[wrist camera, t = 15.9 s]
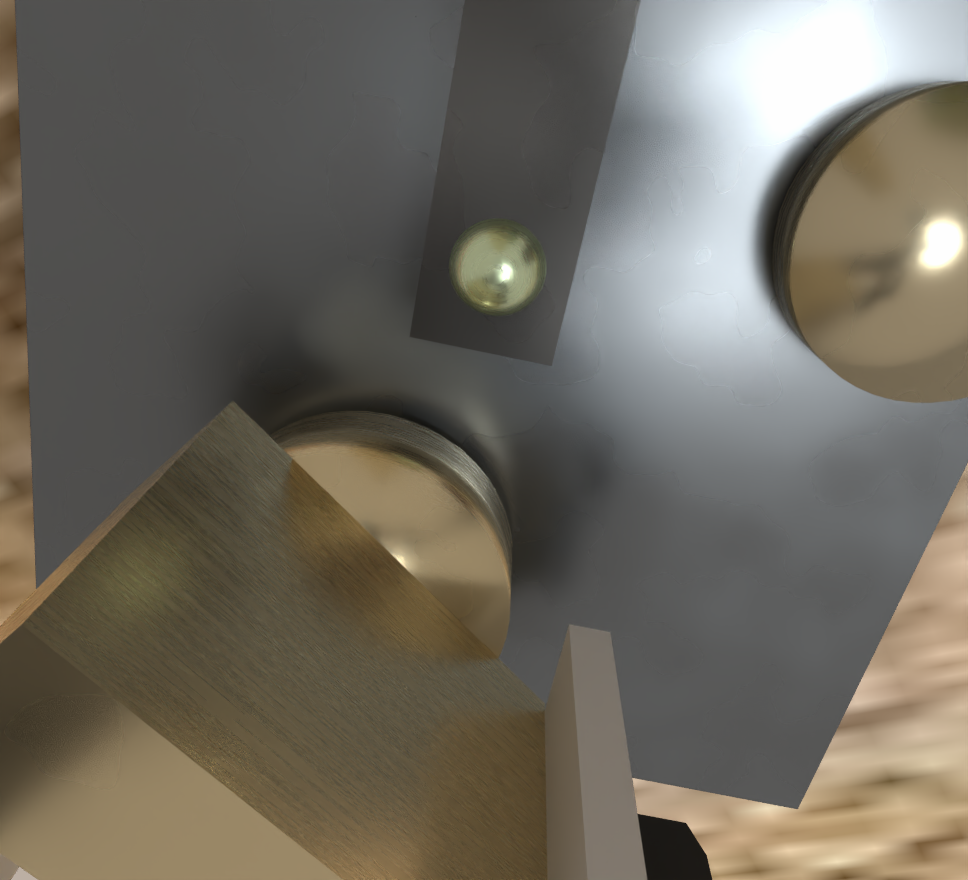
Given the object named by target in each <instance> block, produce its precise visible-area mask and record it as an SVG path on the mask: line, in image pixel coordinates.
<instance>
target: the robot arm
mask: <svg viewBox="0 0 968 880" xmlns="http://www.w3.org/2000/svg"><path fill="white" fill-rule="evenodd" d="M545 766H546V823H547V880H712V877H711V872H710V868H709V864H708V859H707V855H706V854H705V852H704V851H703V849H702V847H701V846H700V844H699V843H698V841H697V840H696V838H695V836H694V835H693V833H692V832H691V830H690V829H689V827H688V825H687V824H686V823H683V822H678V821H672V820H667V819H662V818H656V817H651V816H646V815H640V814H637V808H636V801H635V794H634V787H633V781H632V774H631V767H630V761H629V754H628V747H627V740H626V734H625V727H624V720H623V714H622V707H621V700H620V694H619V687H618V680H617V673H616V667H615V660H614V653H613V647H612V640H611V633H610V632H607V631H602V630H597V629H592V628H586V627H581V626H576V625H571V624H569V626H568V630H567V633H566V637H565V640H564V644H563V648H562V651H561V655H560V658H559V662H558V665H557V669H556V672H555V676H554V679H553V683H552V686H551V690H550V694H549V697H548V701H547V704H546V708H545ZM18 868H19V866H18V865H16V864H15V863H13V862H12V861H11V860H9V859H8V858H6V857H5V856H3V855H2V854H0V880H11V879H12V877H13V876H14V874H15V873H16V871H17V869H18Z"/></svg>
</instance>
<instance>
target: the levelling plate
mask: <svg viewBox="0 0 968 880" xmlns="http://www.w3.org/2000/svg"><path fill="white" fill-rule="evenodd" d="M15 11H16V38H17V66H18V94H19V122H20V149H21V177H22V205H23V233H24V261H25V288H26V316H27V344H28V372H29V399H30V427H31V455H32V483H33V510H34V538H35V566H36V589H37V588H38V587H39V586H40V585H41V584H42V583H43V582H44V581H45V580H46V579H47V578H48V577H49V576H50V575H51V574H52V573H53V572H54V571H55V570H56V569H57V568H58V567H59V566H60V565H61V564H62V563H63V562H64V561H65V560H66V558H67V557H68V556H69V555H70V554H71V553H72V552H73V551H74V550H75V549H76V548H77V547H78V546H79V545H80V544H81V543H82V542H83V541H84V540H85V539H86V538H87V537H88V536H89V535H90V534H91V533H92V532H93V531H94V530H95V529H96V528H97V527H98V526H99V525H100V524H101V523H102V522H103V521H104V520H105V519H106V518H107V517H108V516H109V515H110V514H111V513H112V512H113V511H114V510H115V508H116V507H117V506H118V505H119V504H120V503H121V502H122V501H123V500H124V499H125V498H126V497H127V496H128V495H130V494H131V493H132V492H133V491H134V490H135V489H136V488H137V487H138V486H139V485H141V484H142V483H143V482H144V481H145V480H146V479H147V478H148V477H149V476H150V475H152V474H153V473H154V472H155V471H156V470H157V469H158V468H159V467H160V466H161V465H163V464H164V463H165V462H166V461H167V460H168V459H169V458H170V457H171V456H172V455H174V454H175V453H176V452H177V451H178V450H179V449H180V448H181V447H182V446H183V445H185V444H186V443H187V442H188V441H189V440H190V439H191V438H192V437H193V436H194V435H196V434H197V433H198V432H199V431H200V430H201V429H202V428H203V427H204V426H205V425H207V424H208V423H209V422H210V421H211V420H212V419H213V418H214V417H215V416H216V415H218V414H219V413H220V412H221V411H222V410H223V409H224V408H225V407H226V406H227V405H229V404H230V403H231V402H232V401H234V402H235V403H236V404H237V405H238V406H239V407H240V408H241V409H242V410H243V411H244V412H245V413H246V414H247V415H248V416H249V417H250V418H251V419H252V420H253V421H254V422H256V423H257V424H258V425H259V426H260V427H261V428H262V429H263V430H264V431H265V432H266V433H267V434H268V435H269V436H270V435H271V434H272V433H274V432H276V431H277V430H279V429H281V428H283V427H285V426H287V425H288V424H291V423H293V422H296V421H299V420H301V419H304V418H307V417H311V416H315V415H319V414H324V413H330V412H340V411H369V412H376V413H382V414H389V415H392V416H396V417H400V418H403V419H407V420H410V421H412V422H415V423H417V424H420V425H422V426H425V427H427V428H429V429H431V430H432V431H434V432H436V433H438V434H440V435H442V436H443V437H445V438H447V439H448V440H449V441H451V442H452V443H453V444H455V445H456V446H458V447H459V448H460V449H462V450H463V451H464V452H465V453H466V454H467V455H468V456H469V457H470V458H471V459H472V460H473V461H475V462H476V464H477V465H478V466H479V467H480V468H481V470H482V471H483V472H484V473H485V474H486V476H487V477H488V478H489V480H490V481H491V483H492V485H493V486H494V488H495V489H496V491H497V493H498V494H499V497H500V499H501V501H502V503H503V506H504V508H505V510H506V514H507V517H508V521H509V524H510V529H511V537H512V575H511V599H510V621H509V626H508V632H507V637H506V640H505V643H504V646H503V649H502V652H501V654H500V656H499V659H500V660H501V661H502V662H503V663H504V664H505V665H506V666H507V667H508V668H509V669H510V670H511V671H512V672H513V673H514V674H515V675H516V676H517V677H518V678H519V679H520V680H521V681H522V682H523V683H524V684H525V685H526V686H527V687H529V688H530V689H531V690H532V691H533V692H534V693H535V694H536V695H537V696H538V697H539V698H540V699H541V700H542V701H543V702H544V703H545V708H546V704H547V701H548V697H549V694H550V690H551V686H552V683H553V679H554V676H555V672H556V669H557V665H558V662H559V658H560V655H561V651H562V648H563V644H564V640H565V637H566V633H567V630H568V626H569V624H571V625H576V626H581V627H586V628H592V629H597V630H602V631H607V632H610V633H611V640H612V647H613V653H614V660H615V667H616V673H617V680H618V687H619V694H620V700H621V707H622V714H623V720H624V727H625V734H626V740H627V747H628V754H629V761H630V767H631V774H632V778H637V779H642V780H647V781H653V782H658V783H663V784H668V785H674V786H679V787H684V788H689V789H695V790H700V791H705V792H710V793H715V794H721V795H726V796H731V797H736V798H742V799H747V800H752V801H757V802H763V803H768V804H773V805H778V806H784V807H789V808H794V809H798V807H799V805H800V803H801V801H802V799H803V797H804V795H805V793H806V791H807V789H808V787H809V785H810V783H811V781H812V779H813V777H814V775H815V773H816V771H817V769H818V767H819V765H820V763H821V761H822V758H823V756H824V754H825V752H826V750H827V748H828V746H829V744H830V742H831V740H832V738H833V736H834V734H835V732H836V730H837V728H838V726H839V724H840V722H841V720H842V718H843V716H844V714H845V712H846V710H847V708H848V705H849V703H850V701H851V699H852V697H853V695H854V693H855V691H856V689H857V687H858V685H859V683H860V681H861V679H862V677H863V675H864V673H865V671H866V669H867V667H868V665H869V663H870V661H871V659H872V657H873V655H874V653H875V650H876V648H877V646H878V644H879V642H880V640H881V638H882V636H883V634H884V632H885V630H886V628H887V626H888V624H889V622H890V620H891V618H892V616H893V614H894V612H895V610H896V608H897V606H898V604H899V602H900V600H901V597H902V595H903V593H904V591H905V589H906V587H907V585H908V583H909V581H910V579H911V577H912V575H913V573H914V571H915V569H916V567H917V565H918V563H919V561H920V559H921V557H922V555H923V553H924V551H925V549H926V547H927V544H928V542H929V540H930V538H931V536H932V534H933V532H934V530H935V528H936V526H937V524H938V522H939V520H940V518H941V516H942V514H943V512H944V510H945V508H946V506H947V504H948V502H949V500H950V498H951V496H952V494H953V491H954V489H955V487H956V485H957V483H958V481H959V479H960V477H961V475H962V473H963V471H964V469H965V467H966V465H967V463H968V0H15Z"/></svg>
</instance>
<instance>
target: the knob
mask: <svg viewBox="0 0 968 880" xmlns="http://www.w3.org/2000/svg"><path fill="white" fill-rule="evenodd" d="M511 575H512V537H511V529H510V524H509V521H508V517H507V514H506V510H505V508H504V506H503V503H502V501H501V499H500V497H499V494H498V493H497V491H496V489H495V488H494V486H493V485H492V483H491V481H490V480H489V478H488V477H487V476H486V474H485V473H484V472H483V471H482V470H481V468H480V467H479V466H478V465H477V464H476V462H475V461H473V460H472V459H471V458H470V457H469V456H468V455H467V454H466V453H465V452H464V451H463V450H462V449H460V448H459V447H458V446H456V445H455V444H453V443H452V442H451V441H449V440H448V439H447V438H445V437H443V436H442V435H440V434H438V433H436V432H434V431H432V430H431V429H429V428H427V427H425V426H422V425H420V424H417V423H415V422H412V421H410V420H407V419H403V418H400V417H396V416H392V415H389V414H382V413H376V412H369V411H340V412H330V413H324V414H319V415H315V416H311V417H307V418H304V419H301V420H299V421H296V422H293V423H291V424H288V425H287V426H285V427H283V428H281V429H279V430H277V431H276V432H274V433H272V434H271V435H270V436H269V435H268V434H267V433H266V432H265V431H264V430H263V429H262V428H261V427H260V426H259V425H258V424H257V423H256V422H254V421H253V420H252V419H251V418H250V417H249V416H248V415H247V414H246V413H245V412H244V411H243V410H242V409H241V408H240V407H239V406H238V405H237V404H236V403H235V402H234V401H232V402H231V403H230V404H229V405H227V406H226V407H225V408H224V409H223V410H222V411H221V412H220V413H219V414H218V415H216V416H215V417H214V418H213V419H212V420H211V421H210V422H209V423H208V424H207V425H205V426H204V427H203V428H202V429H201V430H200V431H199V432H198V433H197V434H196V435H194V436H193V437H192V438H191V439H190V440H189V441H188V442H187V443H186V444H185V445H183V446H182V447H181V448H180V449H179V450H178V451H177V452H176V453H175V454H174V455H172V456H171V457H170V458H169V459H168V460H167V461H166V462H165V463H164V464H163V465H161V466H160V467H159V468H158V469H157V470H156V471H155V472H154V473H153V474H152V475H150V476H149V477H148V478H147V479H146V480H145V481H144V482H143V483H142V484H141V485H139V486H138V487H137V488H136V489H135V490H134V491H133V492H132V493H131V494H130V495H128V496H127V497H126V498H125V499H124V500H123V501H122V502H121V503H120V504H119V505H118V506H117V507H116V508H115V510H114V511H113V512H112V513H111V514H110V515H109V516H108V517H107V518H106V519H105V520H104V521H103V522H102V523H101V524H100V525H99V526H98V527H97V528H96V529H95V530H94V531H93V532H92V533H91V534H90V535H89V536H88V537H87V538H86V539H85V540H84V541H83V542H82V543H81V544H80V545H79V546H78V547H77V548H76V549H75V550H74V551H73V552H72V553H71V554H70V555H69V556H68V557H67V558H66V560H65V561H64V562H63V563H62V564H61V565H60V566H59V567H58V568H57V569H56V570H55V571H54V572H53V573H52V574H51V575H50V576H49V577H48V578H47V579H46V580H45V581H44V582H43V583H42V584H41V585H40V586H39V587H38V588H37V589H36V590H35V591H34V592H33V593H32V594H31V595H30V596H29V597H28V598H27V599H26V600H25V601H24V602H23V603H22V604H21V605H20V606H19V607H18V609H17V610H16V611H15V612H14V613H13V614H12V615H11V616H10V617H9V618H8V619H7V620H6V621H5V622H4V623H3V624H2V625H1V626H0V854H2V855H3V856H5V857H6V858H8V859H9V860H11V861H12V862H13V863H15V864H16V865H18V866H19V867H21V868H22V869H24V870H25V871H27V872H28V873H29V874H31V875H32V876H34V877H35V878H37V879H38V880H547V823H546V766H545V703H544V702H543V701H542V700H541V699H540V698H539V697H538V696H537V695H536V694H535V693H534V692H533V691H532V690H531V689H530V688H529V687H527V686H526V685H525V684H524V683H523V682H522V681H521V680H520V679H519V678H518V677H517V676H516V675H515V674H514V673H513V672H512V671H511V670H510V669H509V668H508V667H507V666H506V665H505V664H504V663H503V662H502V661H501V660H500V659H499V656H500V654H501V652H502V649H503V646H504V643H505V640H506V637H507V632H508V626H509V621H510V599H511Z"/></svg>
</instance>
